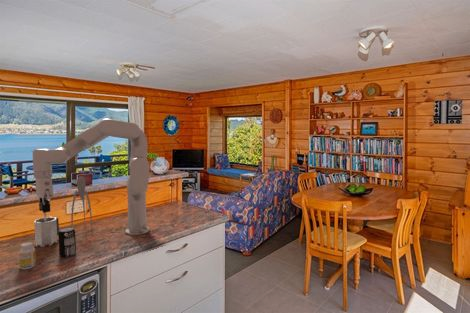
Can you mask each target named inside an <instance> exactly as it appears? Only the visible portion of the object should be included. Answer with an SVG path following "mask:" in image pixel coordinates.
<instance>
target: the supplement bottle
mask: <svg viewBox="0 0 470 313" xmlns="http://www.w3.org/2000/svg"><path fill="white" fill-rule="evenodd" d="M20 248H21V249H20V250H19V251H18V252H19V268H20V269H21V270H29V269H33V268H34V267H35V266H36V265H37V262H36V257H37V256H36V248H35V247H34V243H33V242H32V241H29V242H24V243H22V244H21V246H20Z"/></svg>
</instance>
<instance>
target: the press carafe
mask: <svg viewBox="0 0 470 313" xmlns="http://www.w3.org/2000/svg"><path fill="white" fill-rule="evenodd" d="M46 220H47V222H44V217H40V218H37V219H35V220H34V221H33V222H34V223H33V225H34V226H33V227H34V243H35V247H36V248H46V247H51V246H54V245H56V244H58V233H59V230H60V222H59V221H60V220H59V217H58V216H57V217H56V216H55V217H54V216H46Z"/></svg>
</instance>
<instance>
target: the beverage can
mask: <svg viewBox="0 0 470 313" xmlns="http://www.w3.org/2000/svg"><path fill="white" fill-rule="evenodd" d="M57 239H58V252H59V253H58V255H59V256H60V257H61V258H70V257H73V256H74V255H76V253H77V241H76V240H77V239H76V230H75V227H74V226H73V227H72V226H67V227H62V228H59V233H58V235H57Z"/></svg>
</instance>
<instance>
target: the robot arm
mask: <svg viewBox="0 0 470 313" xmlns="http://www.w3.org/2000/svg"><path fill="white" fill-rule="evenodd" d="M108 137H112V138H121V139H124V140H125V139H126V140H129V141H130V158H129V163H128V165H129V166H128V167H129V178H128V179H127V182H126V194H127V226H128V228H126V229H125V234H127V235H129V236H140V235H144V234H147V233H148V232H149V231H150V227H149V226H148V225H147V197H146V195H147V194H146V192H147V191H148V187H149V178H150V162H149V161H148V159H147V158H148V139H147V136H146V134H145V133H144V131H143V130H142V129H141V128H140V126H139V125H137V123H135V122H130V121H129V122H128V121H124V120H117V119H111V118H103V119H102V120H100V121H99V122H97V123H96V124H94V125H92V126H91V127H88V128H87V129H85V130H84V131H82V132H80V133H78V135H76V136H75V137H74V138H73V139H71V140H69V141H68V142H66V143H64V144H63V145H61V146H59V147H58V148H53V149H50V148H35V149H33V150H32V167H33V168H32V170H33V171H32V172H33V178H34V179H35V192H36V196H37V197H38V202H39V203H38V208H39V211H40V212H42V213H43V214H44V213H45V212H46V213H50V212H51V198H53V197H54V188H53V187H54V186H53V180H52V178H53V165H52V164H55V165H56V164H57V165H63V164H65V163H67V161H69V160H70V159H72V158H73V157H75V156H76V155H78V154H79V153H81V152H84V151H85V150H89V149H91V148H92V147H94V146H96V145H98V144H99V143H100V142H102V141H103V140H106V139H107V138H108ZM40 202H43V205H42V210H41V209H40Z"/></svg>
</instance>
